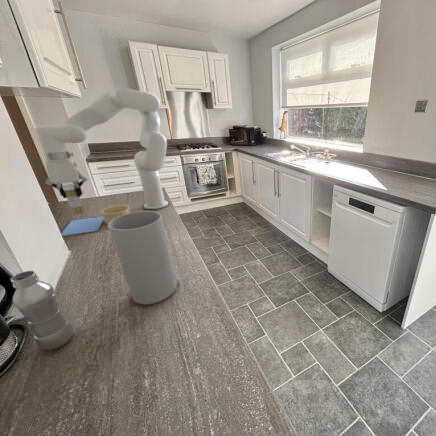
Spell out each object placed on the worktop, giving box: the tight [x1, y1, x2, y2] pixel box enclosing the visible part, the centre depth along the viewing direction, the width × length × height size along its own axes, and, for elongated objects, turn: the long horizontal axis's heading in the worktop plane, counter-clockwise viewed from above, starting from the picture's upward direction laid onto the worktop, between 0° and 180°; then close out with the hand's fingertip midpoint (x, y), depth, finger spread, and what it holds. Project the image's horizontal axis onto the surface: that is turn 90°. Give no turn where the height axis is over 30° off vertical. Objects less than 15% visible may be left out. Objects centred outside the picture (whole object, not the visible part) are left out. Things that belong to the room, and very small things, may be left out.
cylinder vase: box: [107, 210, 178, 305], centre depth 70 cm, size 12×12×25 cm
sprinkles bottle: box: [62, 183, 86, 215], centre depth 110 cm, size 5×5×14 cm
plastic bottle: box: [10, 270, 74, 351], centre depth 55 cm, size 6×7×20 cm
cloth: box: [60, 216, 104, 237], centre depth 116 cm, size 18×14×1 cm
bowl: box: [100, 204, 132, 225], centre depth 121 cm, size 12×12×6 cm
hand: (72, 196), depth 110 cm, fingers closed on sprinkles bottle, 4 cm apart
